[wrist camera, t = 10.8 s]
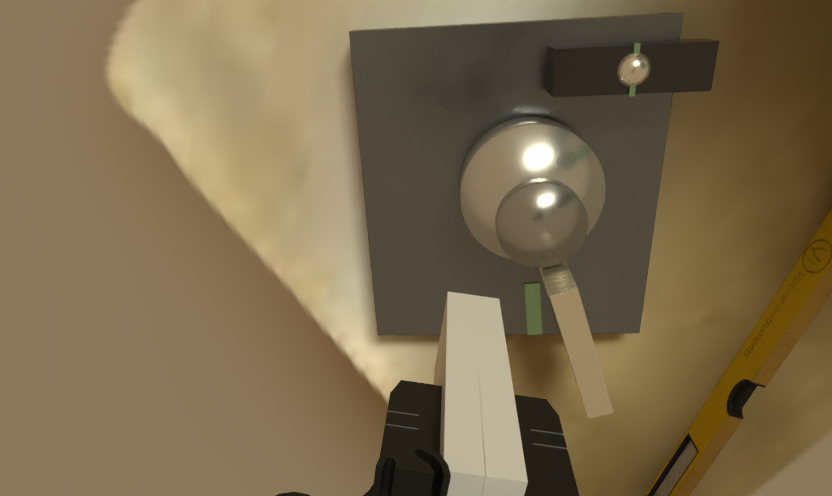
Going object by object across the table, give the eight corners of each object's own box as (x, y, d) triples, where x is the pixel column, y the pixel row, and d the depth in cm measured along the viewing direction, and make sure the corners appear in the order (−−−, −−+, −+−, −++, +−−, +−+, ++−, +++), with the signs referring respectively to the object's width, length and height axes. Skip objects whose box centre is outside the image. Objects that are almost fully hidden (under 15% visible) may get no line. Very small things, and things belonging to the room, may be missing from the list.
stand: (687, 12, 30) (729, 12, 26) (644, 318, 38) (670, 359, 34) (355, 30, 32) (338, 33, 27) (381, 320, 40) (371, 361, 35)
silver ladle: (441, 144, 32) (439, 172, 26) (576, 96, 30) (604, 115, 24) (522, 369, 38) (534, 431, 32) (637, 339, 36) (671, 399, 30)
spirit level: (854, 164, 33) (890, 178, 30) (874, 170, 33) (911, 184, 31) (623, 520, 47) (634, 552, 44) (638, 524, 47) (649, 556, 44)
